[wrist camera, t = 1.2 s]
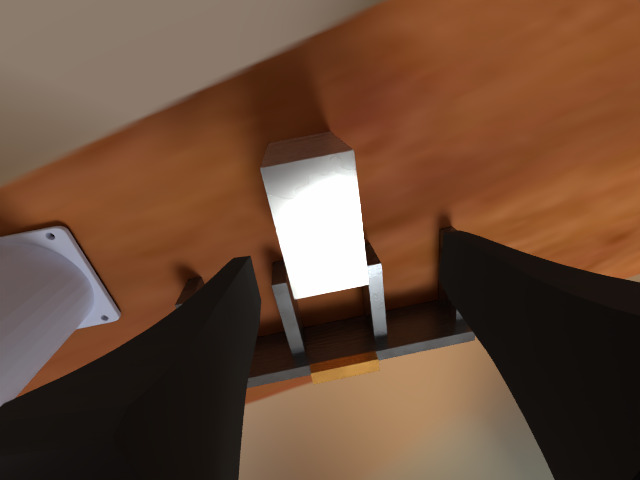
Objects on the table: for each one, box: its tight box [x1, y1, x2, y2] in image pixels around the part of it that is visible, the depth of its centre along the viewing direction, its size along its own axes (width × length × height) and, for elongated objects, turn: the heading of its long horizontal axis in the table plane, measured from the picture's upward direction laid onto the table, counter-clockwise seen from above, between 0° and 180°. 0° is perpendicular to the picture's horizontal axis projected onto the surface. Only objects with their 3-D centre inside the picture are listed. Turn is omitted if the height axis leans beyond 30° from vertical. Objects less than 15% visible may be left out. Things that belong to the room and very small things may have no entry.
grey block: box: [260, 131, 369, 299], centre depth 17 cm, size 4×7×7 cm, turn 10°
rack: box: [175, 227, 475, 388], centre depth 22 cm, size 20×8×5 cm, turn 99°
